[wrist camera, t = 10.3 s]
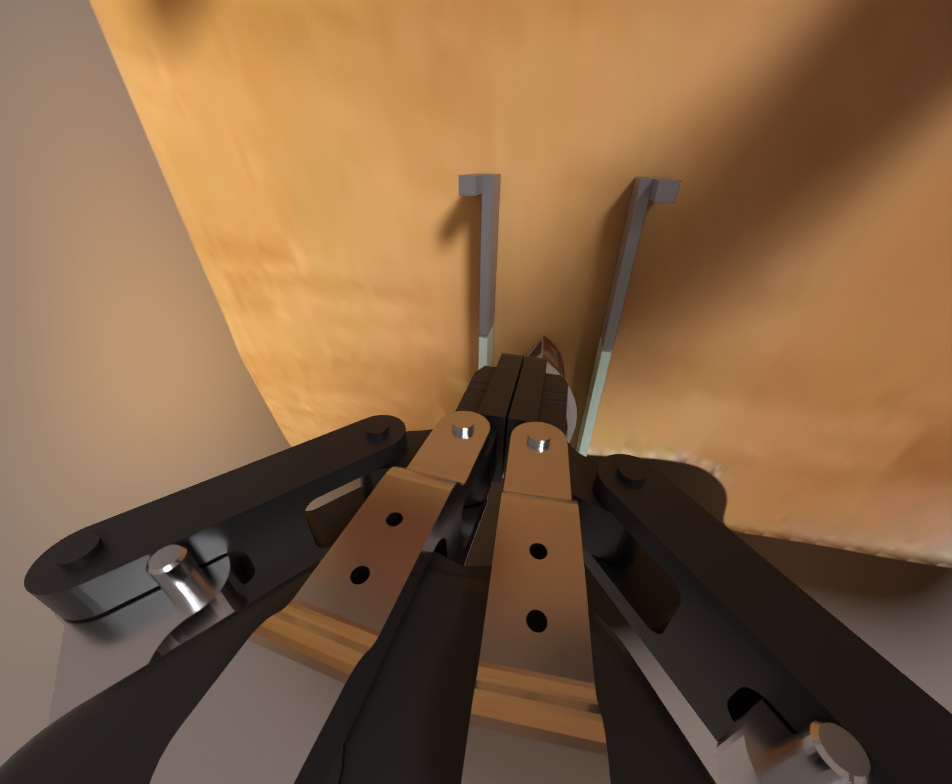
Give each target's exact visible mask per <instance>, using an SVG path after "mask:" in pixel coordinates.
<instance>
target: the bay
mask: <svg viewBox="0 0 952 784" xmlns="http://www.w3.org/2000/svg"><path fill="white" fill-rule="evenodd" d="M500 176H501V174H467V175H459V195H462V196H477V195H480V194H482V215H481V265H480V314H479V335H487V336H488V334H489V332H490V330H491V328H492V326H493V325H494V314H495V291H496V268H497V245H498V222H499V199H500ZM680 182H681V181H680V180H674V179H668V178H644V177H635V180H634V185H633V190H632V194H631V199H630V203H629V208H628V212H627V217H626V222H625V226H624V231H623V235H622V240H621V244H620V249H619V254H618V258H617V263H616V267H615V272H614V276H613V281H612V286H611V290H610V295H609V299H608V304H607V308H606V313H605V318H604V322H603V327H602V331H601V340H602V347H603V348H605V349H613V345H614V341H615V337H616V333H617V329H618V325H619V321H620V317H621V312H622V308H623V304H624V300H625V296H626V292H627V288H628V284H629V280H630V276H631V271H632V267H633V263H634V259H635V255H636V251H637V247H638V243H639V239H640V235H641V230H642V226H643V222H644V218H645V214H646V210H647V206H648V202H649V200H651V201H653V202H661V203H675V200H676V196H677V193H678V189H679V186H680Z"/></svg>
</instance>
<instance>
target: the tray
mask: <svg viewBox="0 0 952 784" xmlns="http://www.w3.org/2000/svg"><path fill="white" fill-rule="evenodd" d="M493 336H494V326H492V328H491V330H490V332H489V334H488V336H487V335H480V337H479V364H478V370H479V369H481V368H482V367H484V366H491V367H492V359H493ZM611 353H612V351H611V349H605V348H603V347H602V340H601V338H600V340H599V345H598V350H597V354H596V359H595V363H594V368H593V372H592V377H591V382H590V386H589V391H588V395H587V400H586V404H585V409H584V414H583V418H582V423H581V427H580V432H579V436H578V441H577V446H576V451H577V452H578V453H580V454H582V455H583V456H587V452H588V448H589V444H590V440H591V436H592V431H593V427H594V423H595V419H596V415H597V411H598V407H599V403H600V399H601V395H602V390H603V386H604V382H605V378H606V374H607V370H608V366H609V362H610V358H611Z"/></svg>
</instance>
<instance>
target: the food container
mask: <svg viewBox="0 0 952 784" xmlns="http://www.w3.org/2000/svg"><path fill="white" fill-rule="evenodd" d="M527 356H530V357H539V358H548V360H547V368H546V373H548V374H556V375H562V376H563V377H564V379H565V375H564V367H563V362H562V359H561V356H560V354H559V352H558V350H557V349H556V347H555V346H554V345H553V344H552V343H551V341H549V340H548V339H547V338H546V337H545V336H543V337H542V338H541V339H540V340H539V342H538V343H537V344H536V345H535V346H534V347H533V349H532V350H531V351H530V352H529V353H528V355H527ZM524 360H525V358H524ZM567 396H568V397H567V416H566V438H567V441H568V443H569V442H570V440H571V438H572V435H573V432H574V430H575V426H576V421H577V408H576V403H575V398H574V396H573V394H572V391H571V389H570V387H569V386H568V395H567ZM502 478H504V473H503V477H502Z"/></svg>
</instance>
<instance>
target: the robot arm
mask: <svg viewBox="0 0 952 784" xmlns="http://www.w3.org/2000/svg"><path fill="white" fill-rule="evenodd" d="M547 360H548V358H539V357H530V356H525V360H524V356H521V355H513V354H504V353H502V355H501V357H500V360H499V362H498V364H497V367H491V366H484V367H482V368H481V369H479V370H478V371H476V372H475V374H474V376H473V378H472V380H471V383H470V384H469V385H468V387H467V390H466V391H465V393H464V395H463V397H462V399H461V401H460V403H459V405H458V407H457V409H456V411H455V412H453V413H449V414H447V415H445V416H444V417H442V418H441V419H440V420H439V421H438V423H437V424H436V426H435V427H434V429H431V430H424V431H408V432H406V429H405V425H404V423H403V422H402V421H401V420H400V419H398V418H397V417H394V416H389V415H378V416H372V417H369V418H366V419H363V420H361V421H358V422H356V423H353V424H350V425H348V426H345V427H343V428H340V429H338V430H335V431H332V432H330V433H327V434H325V435H322V436H320V437H317V438H314V439H312V440H309V441H307V442H304V443H302V444H299V445H296V446H294V447H291V448H289V449H286V450H284V451H281V452H278V453H276V454H273V455H271V456H268V457H266V458H263V459H260V460H258V461H255V462H253V463H250V464H248V465H245V466H242V467H240V468H237V469H235V470H232V471H230V472H227V473H224V474H222V475H219V476H217V477H214V478H211V479H209V480H207V481H204V482H201V483H199V484H196V485H194V486H191V487H188V488H186V489H183V490H181V491H178V492H175V493H173V494H170V495H168V496H166V497H163V498H160V499H157V500H155V501H152V502H150V503H147V504H145V505H142V506H139V507H137V508H134V509H132V510H129V511H127V512H124V513H122V514H119V515H116V516H114V517H111V518H109V519H106V520H104V521H101V522H99V523H96V524H93V525H91V526H88V527H86V528H83V529H81V530H79V531H77V532H75V533H73V534H71V535H69V536H67V537H65V538H64V539H62V540H60V541H59V542H57V543H56V544H55V545H53V546H52V547H50V548H49V549H48V550H47V551H45V552H44V553H43V554H42V555H41V556H40V557H39V558H38V559H37V560H36V561H35V562H34V563H33V565H32V566H31V568H30V569H29V570H28V573H27V574H26V576H25V580H24V586H25V588H26V590H27V591H28V592H30V593H31V594H32V595H34V596H35V597H36V598H37V599H38V600H40V601H41V602H42V603H44V604H45V605H46V606H47V607H49V608H50V609H51V610H52V611H53V612H55V615H56V617H57V619H59V620H60V621H61V622H62V623H63V624H64V632H63V639H62V645H61V651H60V657H59V663H58V670H57V675H56V682H55V688H54V694H53V700H52V707H51V712H50V719H49V725H48V726H47V727H46V728H45V729H43V730H42V731H41V732H40V733H38V734H37V735H36V736H34V737H33V738H32V739H31V740H30V741H28V742H27V743H26V744H25V745H24V746H23V747H21V748H20V749H19V750H18V751H17V752H16V753H14V754H13V755H12V756H11V757H10V758H9V759H8V760H7V761H6V762H5V763H4V764H3V765H2V766H1V767H0V784H716V783H715V781H714V780H713V778H712V777H711V775H710V774H709V772H708V771H707V769H706V767H705V766H704V765H703V763H702V762H701V760H700V758H699V757H698V755H697V754H696V752H695V751H694V749H693V748H692V746H691V745H690V743H689V742H688V740H687V739H686V737H685V736H684V734H683V733H682V731H681V730H680V728H679V727H678V725H677V724H676V722H675V721H674V719H673V718H672V716H671V715H670V713H669V712H668V710H667V709H666V707H665V706H664V704H663V703H662V701H661V700H660V698H659V697H658V695H657V694H656V692H655V690H654V689H653V688H652V686H651V685H650V683H649V681H648V680H647V678H646V677H645V675H644V674H643V672H642V671H641V669H640V668H639V667H638V665H637V663H636V662H635V660H634V659H633V657H632V656H631V654H630V653H629V651H628V650H627V648H626V647H625V646H624V644H623V643H622V641H621V640H620V639H619V638H618V636H617V635H616V634H615V633H614V632H613V630H612V629H611V628H610V627H609V626H608V625H607V624H606V623H605V622H604V621H603V620H602V619H601V618H600V617H599V616H598V615H596V614H595V613H594V612H593V611H592V610H590V609H589V608H588V605H587V594H586V583H585V572H584V563H585V564H586V566H587V567H588V568H589V570H590V571H591V572H592V574H593V575H594V576H595V578H596V579H597V581H598V582H599V583H600V585H601V586H602V587H603V589H604V590H605V591H606V593H607V594H608V595H609V597H610V598H611V599H612V601H613V602H614V603H615V605H616V606H617V607H618V609H619V610H620V611H621V613H622V614H623V616H624V617H625V618H626V620H627V621H628V622H629V624H630V625H631V626H632V628H633V629H634V630H635V632H636V633H637V634H638V636H639V637H640V638H641V640H642V641H643V642H644V644H645V645H646V646H647V648H648V649H649V650H650V652H651V653H652V654H653V656H654V657H655V658H656V660H657V661H658V662H659V664H660V665H661V667H662V668H663V669H664V671H665V672H666V673H667V675H668V676H669V677H670V679H671V680H672V681H673V683H674V684H675V685H676V687H677V688H678V689H679V691H680V692H681V693H682V695H683V696H684V697H685V699H686V700H687V701H688V703H689V704H690V705H691V707H692V708H693V709H694V711H695V712H696V714H697V715H698V716H699V718H700V719H701V720H702V722H703V723H704V724H705V726H706V727H707V728H708V730H709V731H710V732H711V734H712V735H713V736H714V738H715V739H716V740H717V742H718V743H717V747H716V762H717V769H718V773H719V777H720V780H721V783H722V784H952V714H951V713H950V712H949V711H947V710H946V709H945V708H944V707H943V706H941V705H940V704H939V703H938V702H937V701H935V700H934V699H933V698H932V697H931V696H929V695H928V694H927V693H926V692H924V691H923V690H922V689H921V688H920V687H918V686H917V685H916V684H915V683H914V682H913V681H911V680H910V679H909V678H908V677H907V676H905V675H904V674H903V673H901V672H900V671H899V670H898V669H897V668H896V667H894V666H893V665H892V664H891V663H890V662H888V661H887V660H886V659H885V658H884V657H882V656H881V655H880V654H879V653H878V652H876V651H875V650H874V649H873V648H871V647H870V646H869V645H868V644H867V643H866V642H864V641H863V640H862V639H861V638H860V637H858V636H857V635H856V634H855V633H853V632H852V631H851V630H850V629H849V628H847V627H846V626H845V625H844V624H843V623H841V622H840V621H839V620H838V619H837V618H835V617H834V616H833V615H832V614H831V613H829V612H828V611H827V610H826V609H825V608H823V607H822V606H821V605H820V604H818V603H817V602H816V601H815V600H814V599H813V598H811V597H810V596H809V595H808V594H807V593H805V592H804V591H803V590H802V589H800V588H799V587H798V586H797V585H796V584H795V583H793V582H792V581H791V580H790V579H788V578H787V577H786V576H785V575H784V574H782V573H781V572H780V571H779V570H778V569H776V568H775V567H774V566H773V565H772V564H770V563H769V562H768V561H767V560H766V559H764V558H763V557H762V556H761V555H760V554H758V553H757V552H756V551H755V550H754V549H752V548H751V547H750V546H749V545H748V544H746V543H745V542H744V541H743V540H741V539H740V538H739V537H738V536H737V535H736V534H734V533H733V532H732V531H731V530H729V529H728V528H727V527H726V526H725V525H723V524H722V523H721V522H720V521H719V520H717V519H716V518H715V517H714V516H713V515H711V514H710V513H709V512H708V511H707V510H705V509H704V508H703V507H702V506H701V505H699V504H698V503H697V502H696V501H695V500H693V499H692V498H691V497H690V496H689V495H687V494H686V493H685V492H684V491H682V490H681V489H680V488H679V487H678V486H676V485H675V484H674V483H673V482H672V481H670V480H669V479H668V478H667V477H665V476H664V475H663V474H662V473H661V472H660V471H658V470H657V469H656V468H655V467H654V466H652V465H651V464H650V463H648V462H646V461H644V460H642V459H640V458H638V457H635V456H631V455H626V454H613V455H609V456H607V457H605V458H603V459H602V460H601V461H600V462H598V461H595V460H593V459H590V458H588V457H586V456H583V455H582V454H580V453H578V452H577V451H576V450H574V449H573V448H572V447H571V445H570V444H569V443H568V441H567V438H566V416H567V397H568V396H567V395H568V383H567V382H566V380H565V379H564V377H563V376H562V375H556V374H548V373H546V368H547ZM503 473H504V482H503V483H504V484H505V485H504V491H503V492H502V498H501V504H500V511H499V519H498V526H497V534H496V541H495V548H494V555H493V563H492V566H464V565H465V561H466V558H467V555H468V553H469V550H470V547H471V545H472V542H473V539H474V537H475V534H476V531H477V529H478V526H479V523H480V521H481V518H482V515H483V513H484V510H485V507H486V505H487V495H488V494H489V491H490V488H491V484H492V481H493V482H499V483H501V481H502V477H503ZM358 478H360V482H361V487H360V488H358V489H356V490H354V491H351V492H349V493H347V494H345V495H343V496H341V497H339V498H337V499H335V500H333V501H331V502H329V503H327V504H325V505H323V506H321V507H319V508H317V509H315V510H312V511H305V509H306V507H307V506H308V505H309V503H311V502H312V501H313V500H314V499H316V498H318V497H320V496H322V495H324V494H326V493H328V492H330V491H332V490H334V489H337V488H339V487H341V486H343V485H345V484H347V483H349V482H351V481H353V480H355V479H358Z"/></svg>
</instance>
